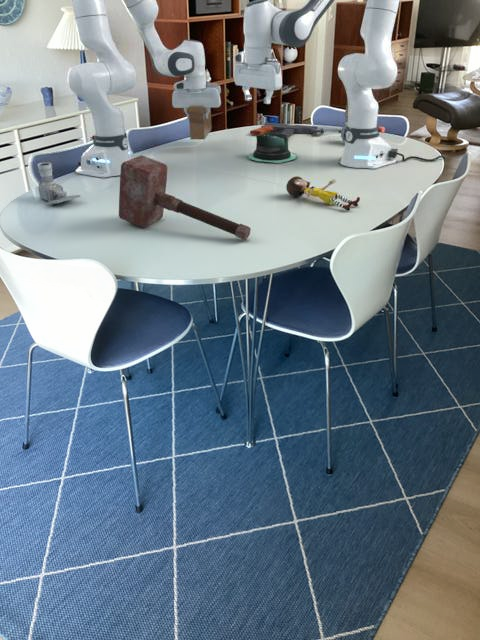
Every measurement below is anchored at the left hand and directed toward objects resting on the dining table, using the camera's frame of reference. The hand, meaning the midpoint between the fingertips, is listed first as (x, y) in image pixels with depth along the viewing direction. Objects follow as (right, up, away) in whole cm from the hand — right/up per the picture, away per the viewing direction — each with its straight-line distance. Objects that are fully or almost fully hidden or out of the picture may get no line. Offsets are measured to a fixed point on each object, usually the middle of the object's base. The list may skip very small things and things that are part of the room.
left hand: (197, 118), depth 235 cm
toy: (+69, -7, +12) cm, 71 cm away
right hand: (+24, -12, -47) cm, 54 cm away
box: (+1, -3, +10) cm, 10 cm away
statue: (+73, +7, +35) cm, 81 cm away
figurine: (+44, -47, -55) cm, 85 cm away
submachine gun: (+39, +2, +29) cm, 49 cm away
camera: (-43, -46, -50) cm, 80 cm away
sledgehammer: (+2, -59, -74) cm, 95 cm away
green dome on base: (+31, -18, -5) cm, 36 cm away
